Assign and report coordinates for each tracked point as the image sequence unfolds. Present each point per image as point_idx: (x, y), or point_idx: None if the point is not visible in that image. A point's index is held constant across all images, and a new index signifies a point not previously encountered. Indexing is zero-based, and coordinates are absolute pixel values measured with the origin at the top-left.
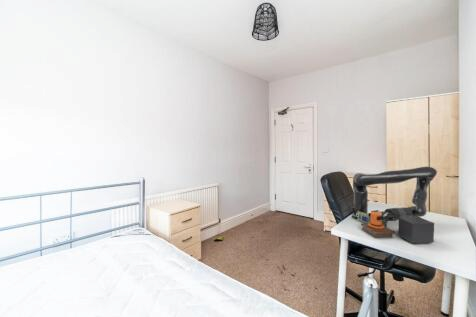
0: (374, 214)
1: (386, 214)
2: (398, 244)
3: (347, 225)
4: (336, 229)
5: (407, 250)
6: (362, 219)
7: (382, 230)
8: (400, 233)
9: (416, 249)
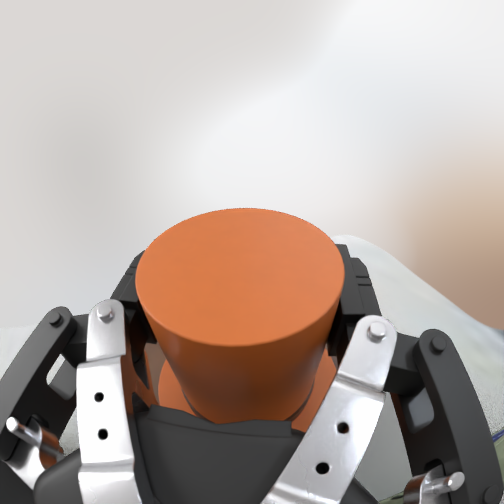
0: (211, 215)
1: (81, 383)
2: (63, 361)
3: (425, 316)
4: (362, 241)
5: (29, 331)
6: (495, 435)
7: (150, 356)
8: (61, 459)
9: (4, 371)
